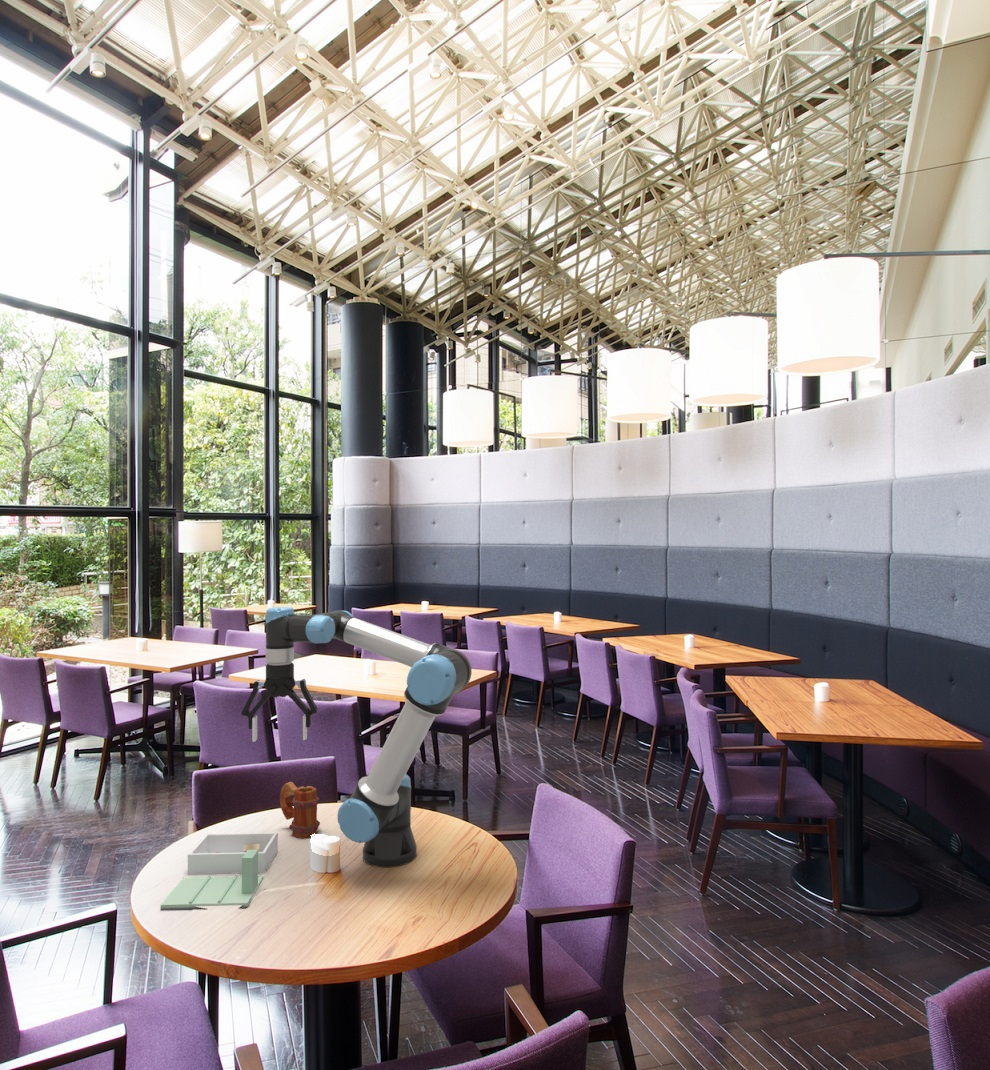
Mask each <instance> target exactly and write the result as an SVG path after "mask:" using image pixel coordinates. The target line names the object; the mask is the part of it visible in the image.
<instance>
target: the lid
mask: <svg viewBox="0 0 990 1070" xmlns="http://www.w3.org/2000/svg"><path fill="white" fill-rule="evenodd" d="M264 878H265V875H259V873H258V850H247V852H246V853H245V854H244V856H243V857H242V874H241V876H240V875H238V874H235V875H234V876H212V875H208V876H200V877H193V876H192V877H183V878H182V879H181V880H180V881H179V882H178V883H177V885H176V886H175V887H174V888H173V890H171V892H170V893H169V895H167V896H166V897H165V899H164V900H163V901H162V902H161V904H160V909H161V908H196V907H205V906H206V907H209V906H210V907H212V906H246V907H248V906H249V905H250V903H251V902H252V899H253V897H254V895H255V893H256V891H257V890H258V888H259V886H260V885H261V883H262V881H263V879H264Z"/></svg>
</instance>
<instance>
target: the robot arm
mask: <svg viewBox="0 0 990 1070" xmlns="http://www.w3.org/2000/svg"><path fill="white" fill-rule="evenodd" d="M264 625H265V663H266V665H265V680H264V681H261V680H258V679H257V680H255V681H254V682H253V689H252V691H251V692H250V695H249V697H248V699H247V701H246V703H245V705H244V706H243V709H242V711H241V715H242V716H245V717H247V718H248V729H249V730H251V732H252V734H251V736H252V737H251V738H252V742H254V743H255V742H256V741H257V740H258V715H256V713H257V712H258V711H259V709H261V707H262V706H263V705H265V703H266V702H267V700H268V699H269V698H271V697H272V698H278V697H280V698H286V697H288V698H289V699H291V700H292V701H293V703H294V704H296V706H297V707H298V708H299V709H300V710H301V711H302V713H303V715H302V741H307V738H308V728H310V727H311V725H312V715H313V714H316V713H317V712H318V710H319V709H318V706H317V704H316V703H315V701H314V699H313V696H312V695H311V693H310V691H309V689H308V688H307V682H306V680H307V679H305V678H303V679H301V680H296V679H295V664H294V663H293V661H295V660H294V659H295V651H294V650H295V648H294V647H295V646H294V644H295V643H305V644H306V643H308V644H327V643H330V642H331V640H332V639H336V640H337V641H341V642H343V643H346V644H348V645H352V646H354V647H357V648H360V649H362V650H365V651H368V652H371V653H372V654H373V653H374V654H376V655H378V656H381V657H384V658H386V659H389V660H391V661H394V662H397V663H400V664H402V665H405V666H408V667H410V669H409V671H408V673H407V676H406V685H407V686H406V688H405V690H404V693H403V695H404V699H405V703H404V704H403V707H402V709H401V711H400V713H399V715H398V716H397V719H396V721H395V722H394V724H393V727H392V729H391V731H390V732H389V734H388V736H387V738H386V740H385V742H384V744H383V746H382V748H381V749H380V752H379V754H378V756H377V758H376V759H375V762H374V763H373V766H372V767H371V769H370V771H369V773H368V775H366V776H362V777H361V778H360V779H359V780H358V782H357V784H356V786H355V788H354V791H353V792H352V794H351V796H350V798H348V799H346V800H345V801H343V803H342V804H341V805H340V807H339V809H338V811H337V823H338V825H339V829H340V831H341V832H342V834H343V835H344V836H345V837H346V839H348V840H350V841H352V842H354V843H359V844H361V843H364V844H363V848H362V860H363V862H365V863H366V864H368V865H370V866H374V867H377V868H378V867H381V868H392V867H393V868H394V867H398V866H403V865H407V864H409V863H411V862H412V861H414V860H415V859H416V857H417V855H418V854H417V852H418V851H417V850H418V848H417V847H418V846H417V843H416V841H415V837H414V833H413V831H412V827H411V823H412V822H411V820H412V819H411V814H412V813H411V809H412V808H411V807H412V805H411V804H412V802H411V801H412V798H411V797H412V785H411V783H412V781H411V777H410V776H409V775H408V774H407V772H408V770H410V769H409V768H410V767H411V764H412V763H413V761H414V759H415V757H416V756H417V754H418V751H419V750H420V748H421V745H422V743H423V742H424V740H425V738H426V736H427V733H429V729H430V728H431V726H432V724H433V723H434V721H435V719H436V717H439V716H442V715H444V714H445V712H446V710H447V708H448V706H449V704H450V702H451V700H452V699H453V697H454V696H455V694H457V693H459V692H461V691H462V690H464V689H465V688H466V687H467V686H468V684H469V683H470V680H471V677H472V665H471V662H470V660H469V658H468V657H467V656H466V655H465V654H464V653H463V652H461V651H459V650H458V649H455V648H452V647H449V646H446V645H443V644H441V643H437V642H434V643H432V644H429V643H428V642H427V643H426V642H424V641H420V640H418V639H415V638H412V637H410V636H407V635H405V634H402V633H398V632H396V631H393V630H390V629H387V628H384V627H382V626H379V625H376V624H374V623H371V622H368V621H365V620H362V619H359V618H356V617H354V615H353V614H352V613H351V612H349V611H348V610H334V611H329V612H323V613H316V614H295V611H294V608H293V607H291V606H274V607H269V608H267V610H266V613H265V623H264ZM296 686H297V688H298V689H300V692H301V693H302V695H303V697H304V700H305V701H306V703H307V704H308V706H307V705H306V703H305V702H304V701H303V700H302V699H301V698H300V697H299V695H298V694H297V693H296V691H295V690H294V688H295V687H296ZM263 687H264V688H265V689H266V691H267V692H265V694H264V695H263V696H262V698H261V699H260V700H259V701H258V702H257V703H256V705H255V706H254V707H253V708H252V709H251V707H252V705H253V703H254V701H255V700H256V697H257V695H258V692H259V691H260V690H261V689H262V688H263ZM250 709H251V710H250Z"/></svg>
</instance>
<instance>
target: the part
mask: <svg viewBox="0 0 990 1070" xmlns="http://www.w3.org/2000/svg"><path fill="white" fill-rule="evenodd" d="M247 850H258V852H259V844H252V845H244V852H247Z"/></svg>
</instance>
